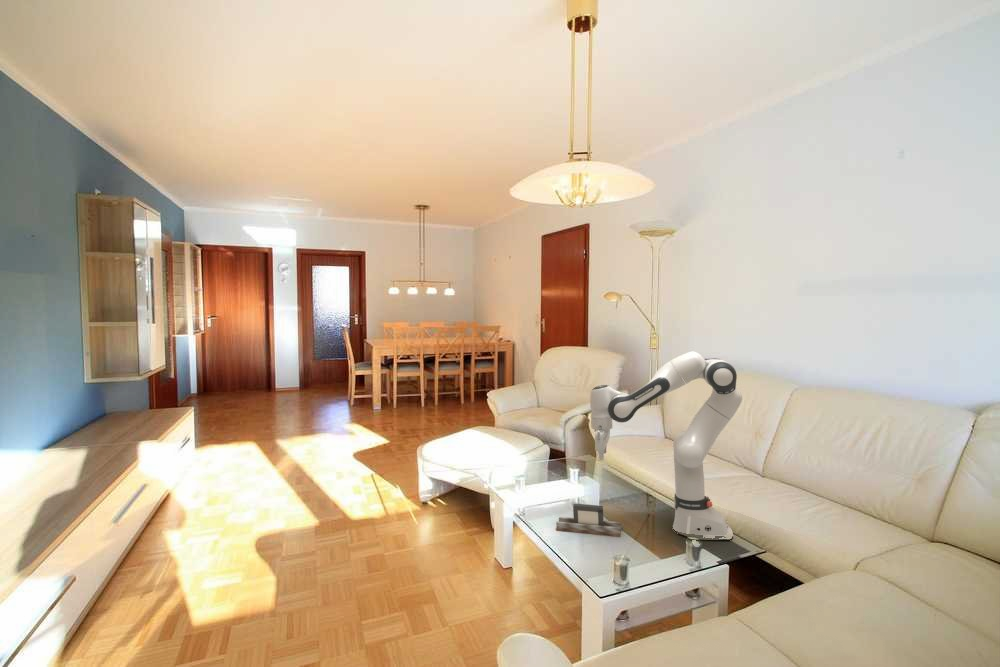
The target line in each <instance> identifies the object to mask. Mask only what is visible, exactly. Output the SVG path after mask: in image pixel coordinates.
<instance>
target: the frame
mask: <svg viewBox="0 0 1000 667" xmlns="http://www.w3.org/2000/svg"><path fill="white" fill-rule="evenodd" d="M572 509H573V511H572V512H573V513H572V514H573V518H574V523H579V524H589V525H600V526H604V521H605V519H604V506H603V505H599V504H597V505H596V504H595V505H594V504H582V503H573V505H572Z"/></svg>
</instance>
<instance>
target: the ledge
mask: <svg viewBox="0 0 1000 667" xmlns="http://www.w3.org/2000/svg"><path fill="white" fill-rule="evenodd" d="M555 524H556V526H555V531H557V532H565V533H566V532H567V533H575V534H584V535H585V534H586V535H597V536H607V537H617V538H621V536H622V535H621V534H622V530H623V527H622V521H620V522H619V521H610V520H604V526H600V525H589V524H579V523H574V517H567V516H559V517H558V521H556V523H555Z"/></svg>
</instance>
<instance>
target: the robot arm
mask: <svg viewBox="0 0 1000 667" xmlns="http://www.w3.org/2000/svg"><path fill="white" fill-rule="evenodd" d="M698 379H703V380H704V381H705V382H706V383H707V384H708V385H709V386H710V387H711V388H712V391H711V394H710V395H709V398H707V400H706V401H705V402H704V403H703V405H702V406H701V407H700V409H699V410H698V411H697V412H696V414H695V415H694V417H693V419H691V420H692V421H691V422H690V424H689V426H688V427H687V429H686V430H683V431H680V432H679V433H677V435H675V436H674V438H673V439H674V440H673V443H672V444H673V462H674V463H673V465H674V484H675V486H674V488H675V493H674V499H673V500H674V509H675V510H674V511H675V512H674V519H673V520H674V521H673V524H672V527H673V528H672V530H673V529H674V530H675V531H678V532H682V533H686V534H695V535H703V538H704V537H705V538H712V539H713V538H715V536H725V535H727V533H730V534H732V535H733V536H734V533H733V530H732V528H731V527H730V526H729V525H728V524H727V522H726V519H725V517H724V515H722V513H720V512H719V511H718V510H717V509H715V508H714V507H713V502H712V501H711V499H710V497H709V496H708V495H707V496H706V495H705V475H704V473H705V472H704V460H705V458H706V457H707V455H708V454H709V452H710V450H711V448H712V447H713V445H714V443H715V442H716V440H717V438H718V437H719V435H720V434H721V432H722V431H723V430H725V427H726V426H727V425H728V423H729V422H730V421H731V420H732V419H733V417H734V416H735V414H736V413H737V411H738V410H739V407H740V406H741V403H742V401H743V395H742V393H741V392H740V390H739V389H737V388H736V386H737V379H738V375H737V371H736V369H735V367H734V366H733V365H732V364H730V362H728V361H726V360H724V359H721V358H717V357H716V358H714V357H713V358H704V357H703V356H702V355H701V354H700V352H699V353H698V352H697V351H693V350H691V351H688V352H685V353H683V354H680V355H679V356H676V357H675V358H673V359H671V360H669V361H667V362H665V364H663V365H662V366H661V367H659V368H658V369H657V370H656V372H655V374H654V375H653V376H652V378H651V380H649V381H648V383H646V384H645V385H644V386H642V387H641V388H638V389H637V390H635V391H634V392H632V393H630V394H629V393H626V392H622V391H619V390H617V389H614V388H613V387H611V386H610V385H607V384H601V385H598V386H594V387H593V388H592V390H591V391H590V398H589V399H590V401H589V402H590V410H591V414H590V427H591V429H593V430H594V450H595V451H596V452H597V454H598V460H600V461H603V460H604V458H605V455H604V454H607V446H608V443H609V440H610V435H611V429H613V421H615V422H617V423H626V422H629V421H630V420H631V419H632V418H633V417H634V416H635V414H636V412H638V410H639V409H641V408H642V407H644V406H645V405H648V404H649V403H651V402H652V401H653V400H655V399H657V398H659V397H660V396H663V395H665V394H669V393H670V392H673V391H675V390H677V389H681V387H683V386H686V385H688V384H689V383H690V382H692V381H694V380H698ZM674 530H673V531H674ZM675 531H674V532H675ZM719 539H730V538H724V537H722V538H719Z"/></svg>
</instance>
